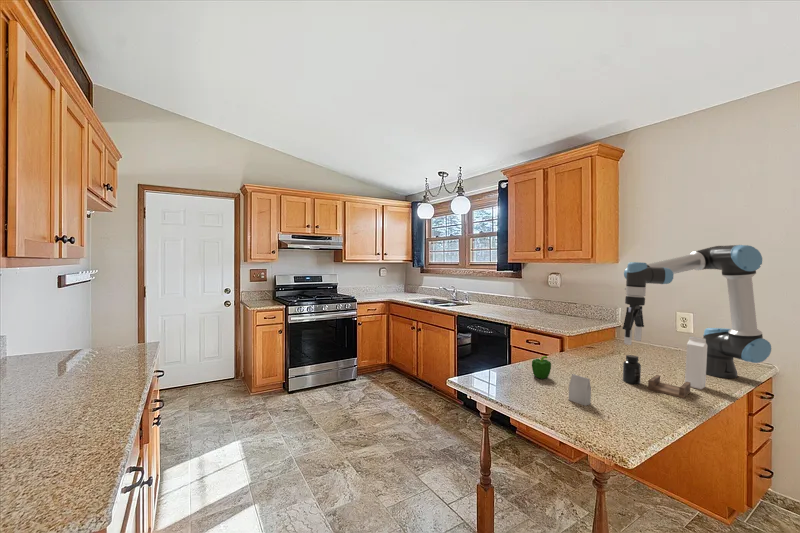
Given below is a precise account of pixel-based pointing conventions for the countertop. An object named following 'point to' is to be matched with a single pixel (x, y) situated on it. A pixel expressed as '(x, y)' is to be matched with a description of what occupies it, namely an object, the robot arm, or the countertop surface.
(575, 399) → the grey upright block
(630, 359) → the supplement bottle
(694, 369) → the milk
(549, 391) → the countertop surface
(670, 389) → the u cradle
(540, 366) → the bell pepper
